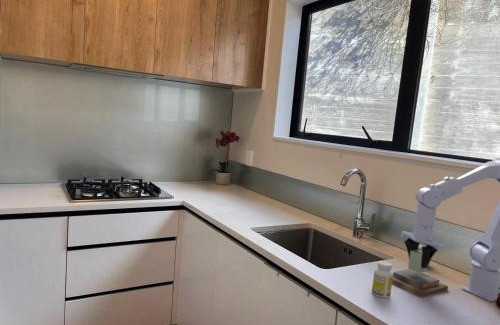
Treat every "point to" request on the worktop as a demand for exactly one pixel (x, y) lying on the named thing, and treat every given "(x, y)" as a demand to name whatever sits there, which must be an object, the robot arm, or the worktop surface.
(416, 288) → the stepped stand
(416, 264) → the green block
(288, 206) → the worktop surface
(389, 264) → the supplement bottle
